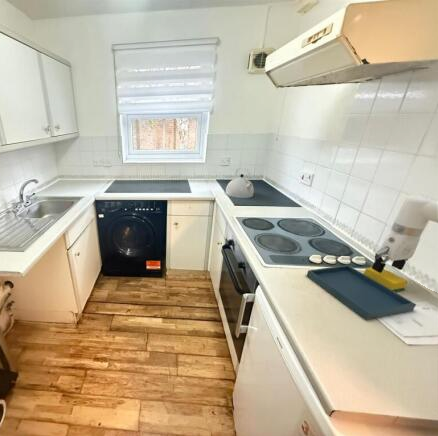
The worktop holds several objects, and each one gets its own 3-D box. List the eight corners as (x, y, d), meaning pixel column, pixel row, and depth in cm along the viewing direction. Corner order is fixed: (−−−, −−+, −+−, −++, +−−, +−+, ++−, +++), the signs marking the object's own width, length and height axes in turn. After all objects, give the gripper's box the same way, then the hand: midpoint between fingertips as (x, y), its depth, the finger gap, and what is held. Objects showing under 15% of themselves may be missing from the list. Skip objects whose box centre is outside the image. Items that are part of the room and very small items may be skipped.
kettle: (261, 197, 194) (266, 170, 186) (237, 199, 189) (241, 171, 180) (242, 189, 217) (246, 164, 208) (220, 191, 211) (223, 165, 202)
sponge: (362, 276, 97) (366, 268, 96) (375, 274, 98) (378, 266, 97) (390, 292, 88) (394, 283, 87) (403, 289, 89) (408, 281, 88)
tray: (345, 270, 101) (347, 264, 100) (412, 310, 80) (416, 304, 79) (306, 276, 97) (308, 270, 96) (365, 320, 76) (368, 313, 75)
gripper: (400, 236, 79) (379, 277, 86) (438, 232, 83) (415, 272, 90) (376, 226, 86) (358, 266, 93) (412, 223, 89) (392, 261, 96)
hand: (386, 269), depth 91 cm, fingers open, 9 cm apart
